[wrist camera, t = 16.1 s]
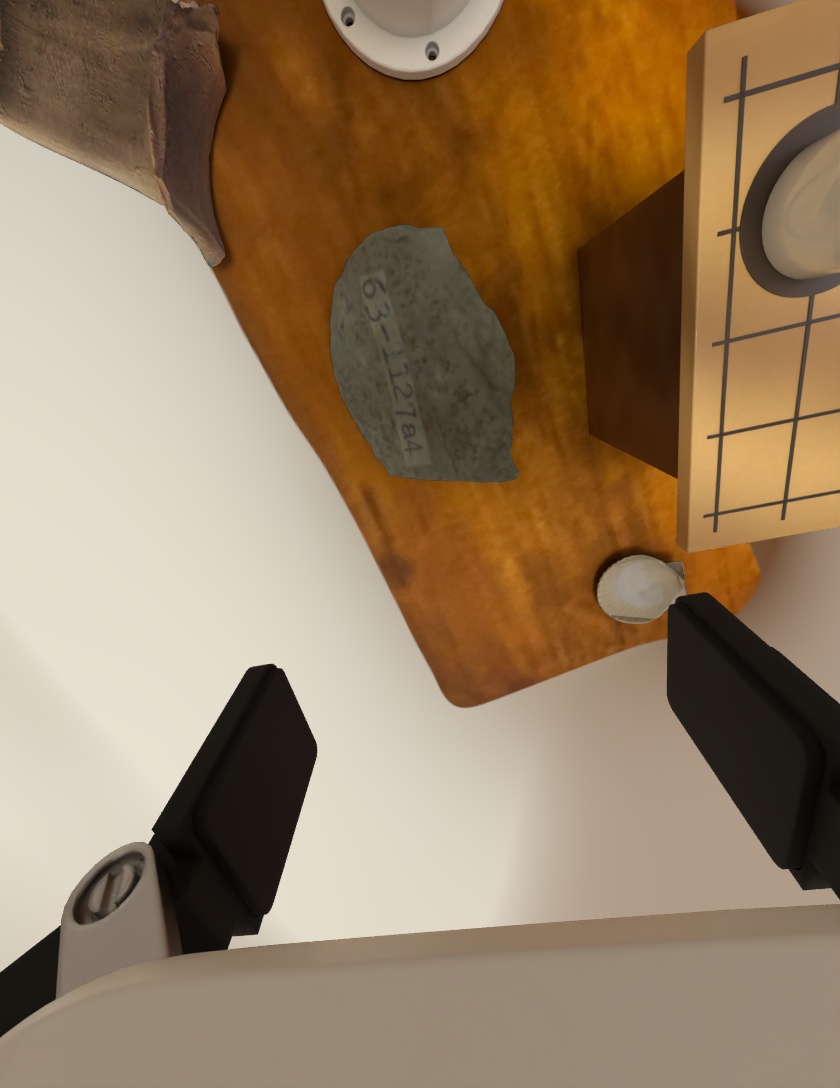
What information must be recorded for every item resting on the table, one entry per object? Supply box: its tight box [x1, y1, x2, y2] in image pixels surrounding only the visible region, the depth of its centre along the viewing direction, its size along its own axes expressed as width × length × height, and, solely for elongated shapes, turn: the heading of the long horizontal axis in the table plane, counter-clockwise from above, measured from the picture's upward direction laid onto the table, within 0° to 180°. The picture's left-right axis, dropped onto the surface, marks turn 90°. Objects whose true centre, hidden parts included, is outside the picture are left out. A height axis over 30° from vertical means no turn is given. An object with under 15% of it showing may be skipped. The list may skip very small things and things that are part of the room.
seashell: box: [596, 555, 688, 624], centre depth 42 cm, size 8×3×8 cm
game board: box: [578, 0, 840, 553], centre depth 26 cm, size 20×9×18 cm, turn 13°
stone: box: [330, 225, 519, 482], centre depth 34 cm, size 20×4×15 cm
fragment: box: [0, 0, 227, 267], centre depth 28 cm, size 13×16×5 cm
